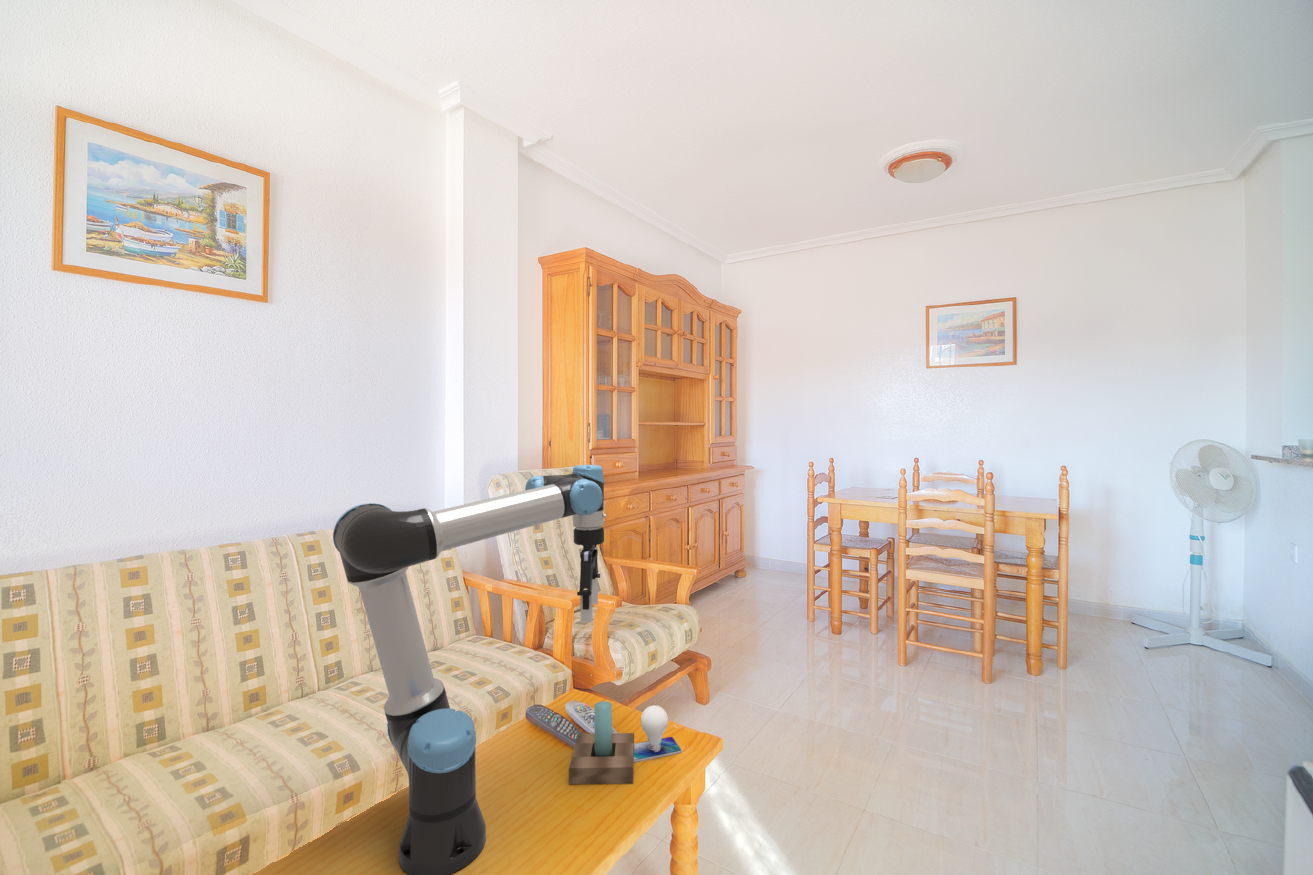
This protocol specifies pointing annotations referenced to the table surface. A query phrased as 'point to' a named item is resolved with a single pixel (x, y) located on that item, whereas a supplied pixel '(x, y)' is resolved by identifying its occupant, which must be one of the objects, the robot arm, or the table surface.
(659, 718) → the light bulb
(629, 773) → the socket block
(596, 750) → the peg
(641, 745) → the smartphone
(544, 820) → the table surface
